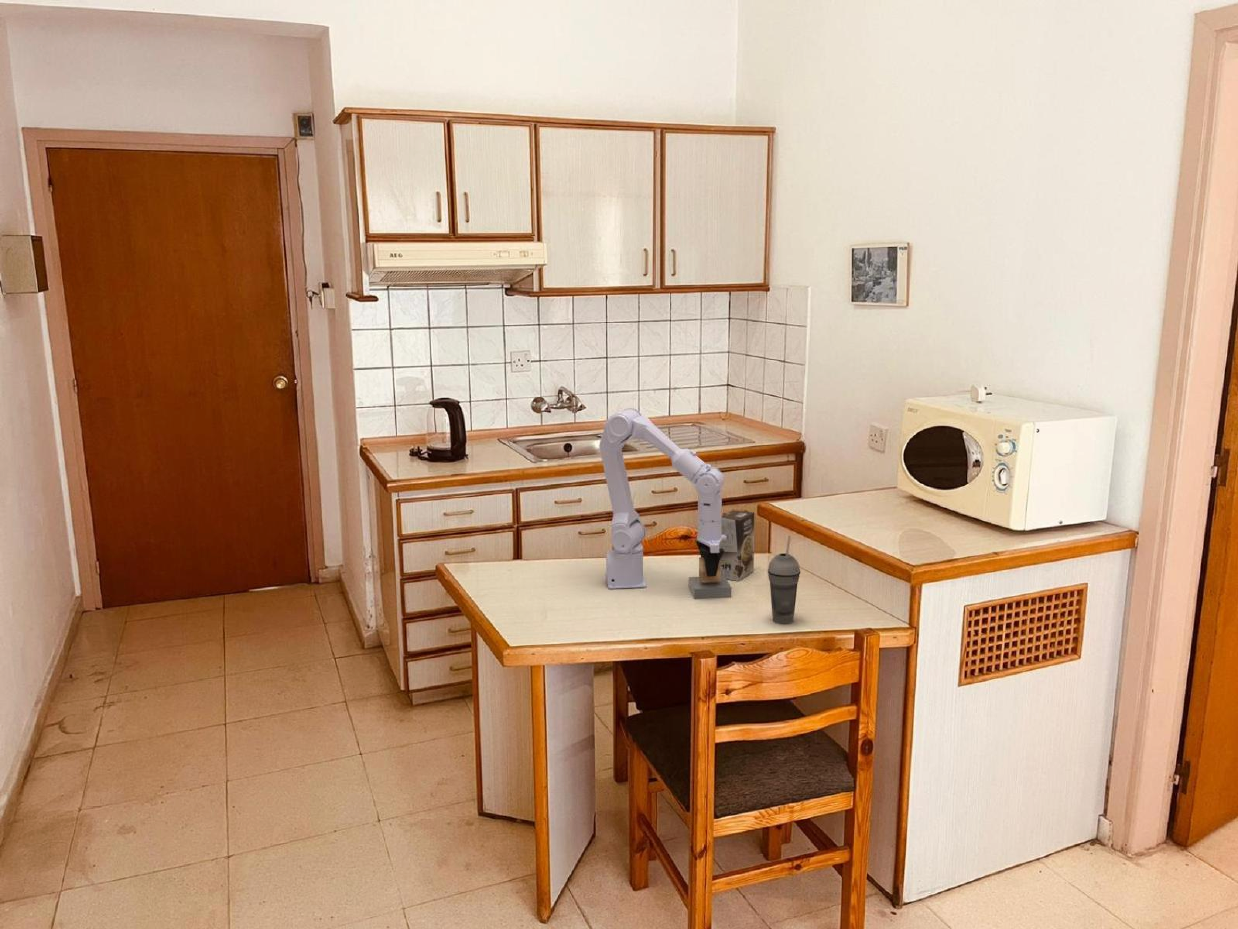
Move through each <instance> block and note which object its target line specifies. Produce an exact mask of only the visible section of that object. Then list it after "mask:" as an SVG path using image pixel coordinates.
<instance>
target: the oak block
mask: <svg viewBox="0 0 1238 929" xmlns="http://www.w3.org/2000/svg"><path fill="white" fill-rule="evenodd" d="M698 562H699V563H698V577H699V578H700V579H701V581H702V583H707V582H721V562H719V565H718V570H717V574H716V576H711V577H708V576H707V574H706V568H705V562H704V558H703V557H701V556H700V557H698Z"/></svg>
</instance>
